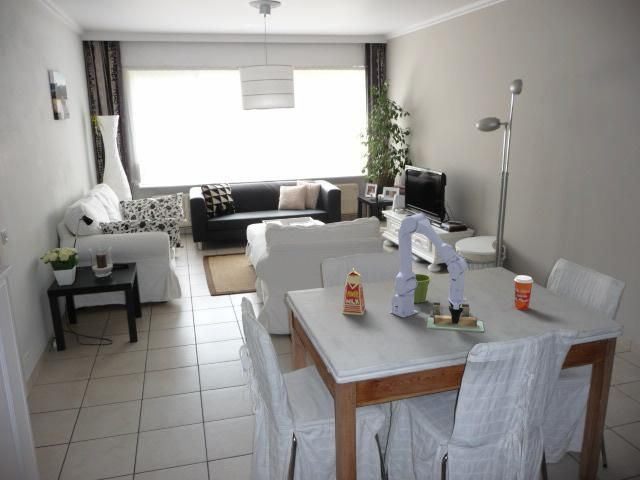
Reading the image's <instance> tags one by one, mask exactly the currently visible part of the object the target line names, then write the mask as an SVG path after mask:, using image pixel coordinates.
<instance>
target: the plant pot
mask: <svg viewBox="0 0 640 480" xmlns="http://www.w3.org/2000/svg"><path fill="white" fill-rule="evenodd" d="M415 277H416V280H417V283H418V285H417V287H416V289H415V292H414V304H416V303H417V304H419V303H425V302H426V299H427V296H428V295H427V293H428V289H429V284H430V282H431V281H430V280H432V277H431V275H428V274H423V273H415Z"/></svg>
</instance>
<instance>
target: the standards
mask: <svg viewBox="0 0 640 480" xmlns="http://www.w3.org/2000/svg"><path fill="white" fill-rule="evenodd" d="M461 308H463V311H462V313H461V315H460V317H472V313H470V303H463V302H462V303H461ZM434 315H442V316H443V311H441V302H440V301H433V302H432V310H430V315H429V316H430V317H429V318H434Z"/></svg>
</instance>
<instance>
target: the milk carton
mask: <svg viewBox="0 0 640 480" xmlns="http://www.w3.org/2000/svg"><path fill="white" fill-rule="evenodd" d="M345 280H346V281H345V286H344V298H343V306H342V313H341V314H342V315H343V314H344V315H355V316H364V313H365V310H366V303H365V296H364V288H363V282H362V281H363V280H362V275H361V274H360V273H359V272H357V271H356V270H355V268H354V267H352V270H351V272H349V273H348V274H347V276H346V279H345Z"/></svg>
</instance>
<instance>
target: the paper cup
mask: <svg viewBox="0 0 640 480" xmlns="http://www.w3.org/2000/svg"><path fill="white" fill-rule="evenodd" d="M513 280H514V308H515V309H516V308H517V310H520V311H527V310H528V309H529V307H530V301H531V293H532V287H533V283H534V280H533V278H532V277H531V276H529V275H523V274H521V275H516V276H515V278H514V279H513Z"/></svg>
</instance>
